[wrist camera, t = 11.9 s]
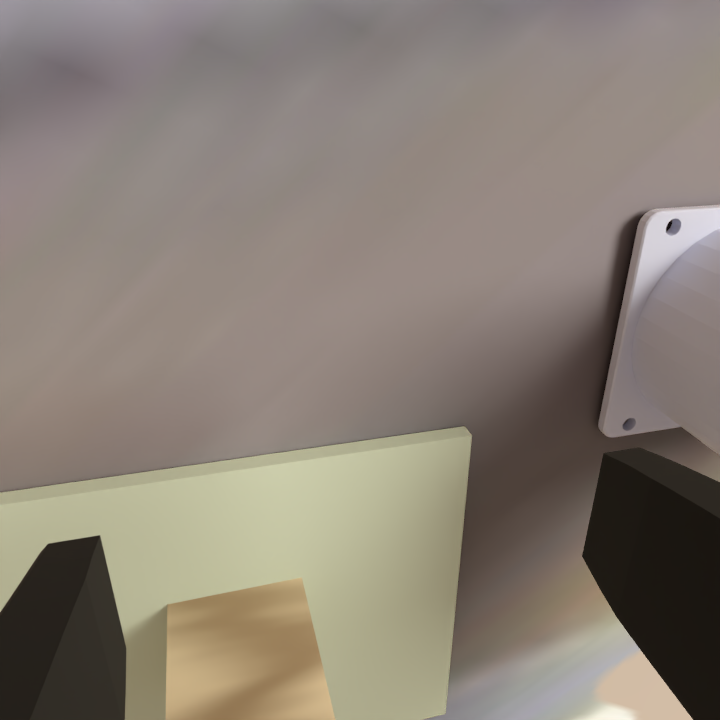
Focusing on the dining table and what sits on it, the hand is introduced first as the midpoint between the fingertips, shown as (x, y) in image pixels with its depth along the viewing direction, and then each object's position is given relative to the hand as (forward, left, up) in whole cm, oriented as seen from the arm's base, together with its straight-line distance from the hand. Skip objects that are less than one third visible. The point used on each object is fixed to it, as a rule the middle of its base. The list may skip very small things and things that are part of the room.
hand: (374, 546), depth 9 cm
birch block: (+2, +12, -9) cm, 15 cm away
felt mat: (+2, +12, -10) cm, 16 cm away
